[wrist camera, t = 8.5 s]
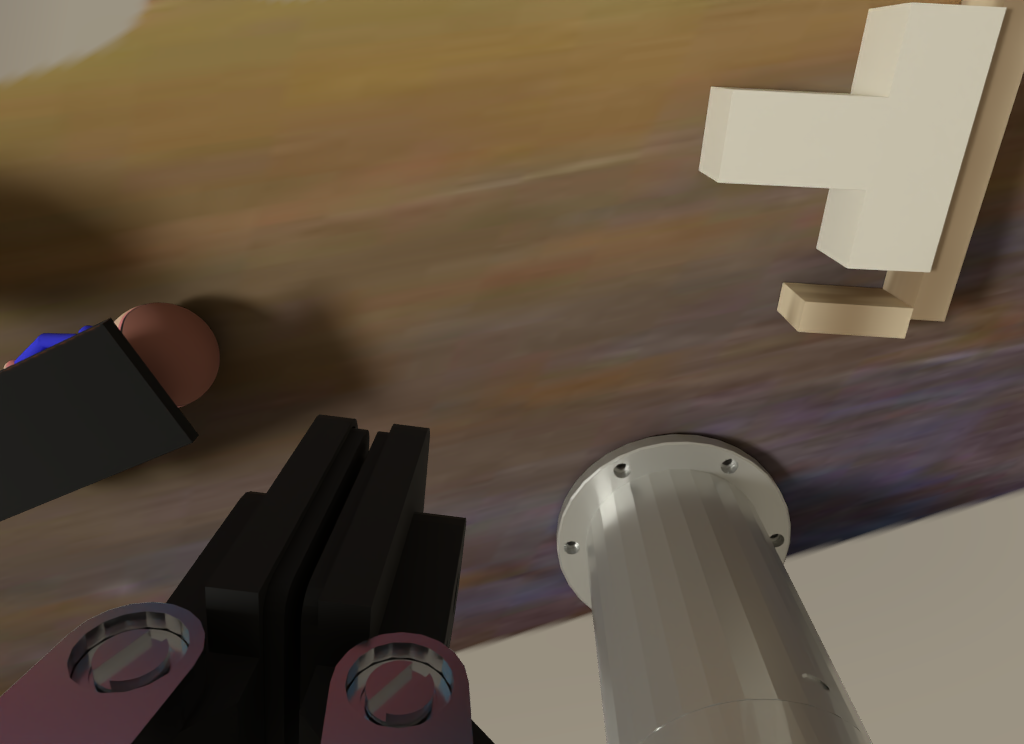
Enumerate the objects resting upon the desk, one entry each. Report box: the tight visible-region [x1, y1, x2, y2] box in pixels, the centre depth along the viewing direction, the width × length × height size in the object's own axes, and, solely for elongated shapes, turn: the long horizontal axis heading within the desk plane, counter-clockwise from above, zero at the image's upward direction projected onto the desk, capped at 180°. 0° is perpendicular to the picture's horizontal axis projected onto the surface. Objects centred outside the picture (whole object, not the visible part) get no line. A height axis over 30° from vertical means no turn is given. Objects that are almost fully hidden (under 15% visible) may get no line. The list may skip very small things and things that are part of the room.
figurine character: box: [0, 303, 220, 521], centre depth 34 cm, size 7×8×15 cm
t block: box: [699, 3, 1007, 272], centre depth 30 cm, size 10×10×4 cm
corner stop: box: [777, 0, 1024, 338], centre depth 30 cm, size 6×14×3 cm, turn 177°
